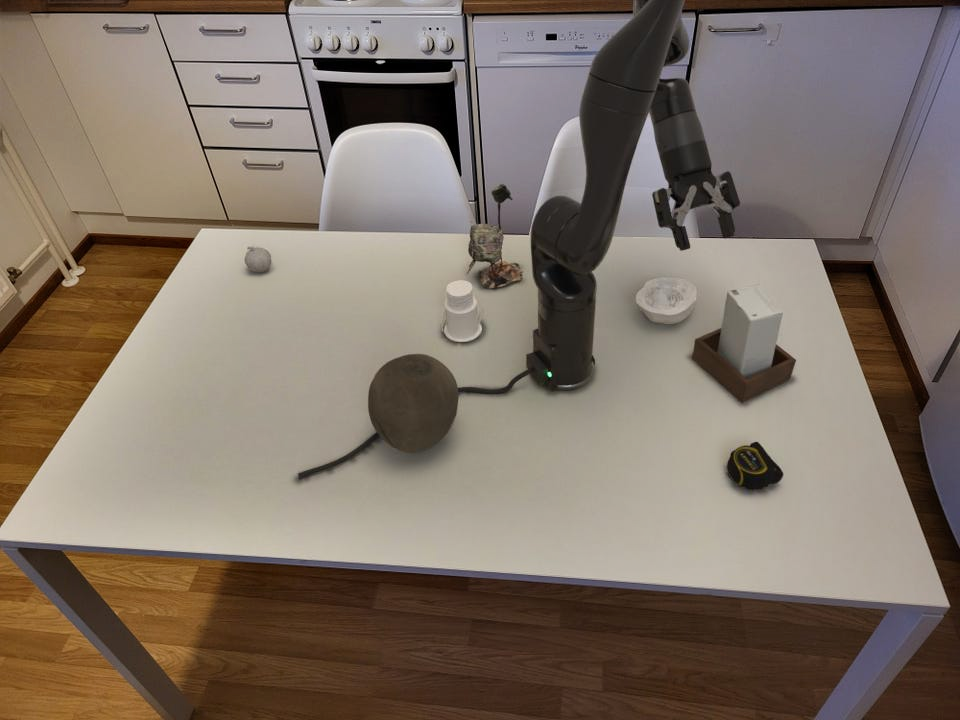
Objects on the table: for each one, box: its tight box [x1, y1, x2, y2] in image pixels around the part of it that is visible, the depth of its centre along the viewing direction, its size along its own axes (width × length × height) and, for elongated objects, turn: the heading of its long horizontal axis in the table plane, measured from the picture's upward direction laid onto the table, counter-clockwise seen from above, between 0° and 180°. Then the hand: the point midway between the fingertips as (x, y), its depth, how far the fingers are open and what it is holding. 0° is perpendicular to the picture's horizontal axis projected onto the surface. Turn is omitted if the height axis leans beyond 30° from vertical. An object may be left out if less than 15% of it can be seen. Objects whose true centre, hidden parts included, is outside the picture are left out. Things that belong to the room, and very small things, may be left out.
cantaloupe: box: [367, 353, 459, 454], centre depth 120 cm, size 14×14×15 cm
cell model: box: [635, 276, 698, 325], centre depth 141 cm, size 10×12×7 cm
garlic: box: [244, 246, 272, 273], centre depth 159 cm, size 6×5×5 cm
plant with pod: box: [465, 183, 524, 289], centre depth 148 cm, size 8×11×20 cm
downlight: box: [440, 279, 484, 343], centre depth 140 cm, size 8×7×10 cm
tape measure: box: [726, 441, 784, 491], centre depth 114 cm, size 7×7×4 cm
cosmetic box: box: [716, 284, 784, 379], centre depth 127 cm, size 8×6×15 cm
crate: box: [691, 327, 797, 404], centre depth 131 cm, size 11×13×4 cm
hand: (707, 243), depth 126 cm, fingers open, 8 cm apart
